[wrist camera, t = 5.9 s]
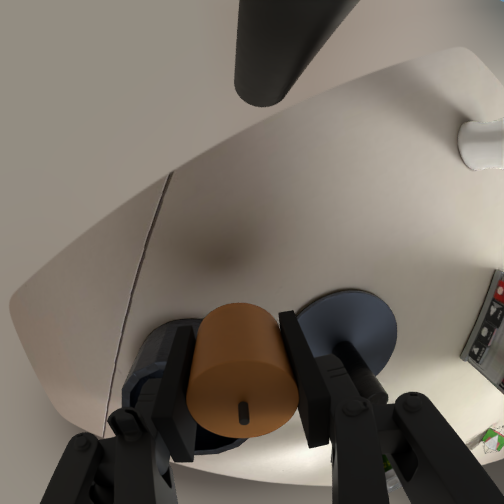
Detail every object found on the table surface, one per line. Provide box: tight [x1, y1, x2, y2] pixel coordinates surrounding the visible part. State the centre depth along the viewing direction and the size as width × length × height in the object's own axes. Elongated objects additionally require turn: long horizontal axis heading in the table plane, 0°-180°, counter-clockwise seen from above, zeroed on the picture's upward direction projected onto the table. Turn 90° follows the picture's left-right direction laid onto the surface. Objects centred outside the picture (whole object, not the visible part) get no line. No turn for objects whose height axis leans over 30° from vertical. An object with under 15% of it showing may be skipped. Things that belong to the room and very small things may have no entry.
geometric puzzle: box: [482, 426, 504, 453], centre depth 40 cm, size 7×7×8 cm
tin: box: [122, 319, 248, 455], centre depth 27 cm, size 13×13×8 cm
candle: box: [186, 303, 299, 438], centre depth 12 cm, size 4×4×6 cm
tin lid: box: [296, 291, 397, 404], centre depth 26 cm, size 14×14×10 cm
